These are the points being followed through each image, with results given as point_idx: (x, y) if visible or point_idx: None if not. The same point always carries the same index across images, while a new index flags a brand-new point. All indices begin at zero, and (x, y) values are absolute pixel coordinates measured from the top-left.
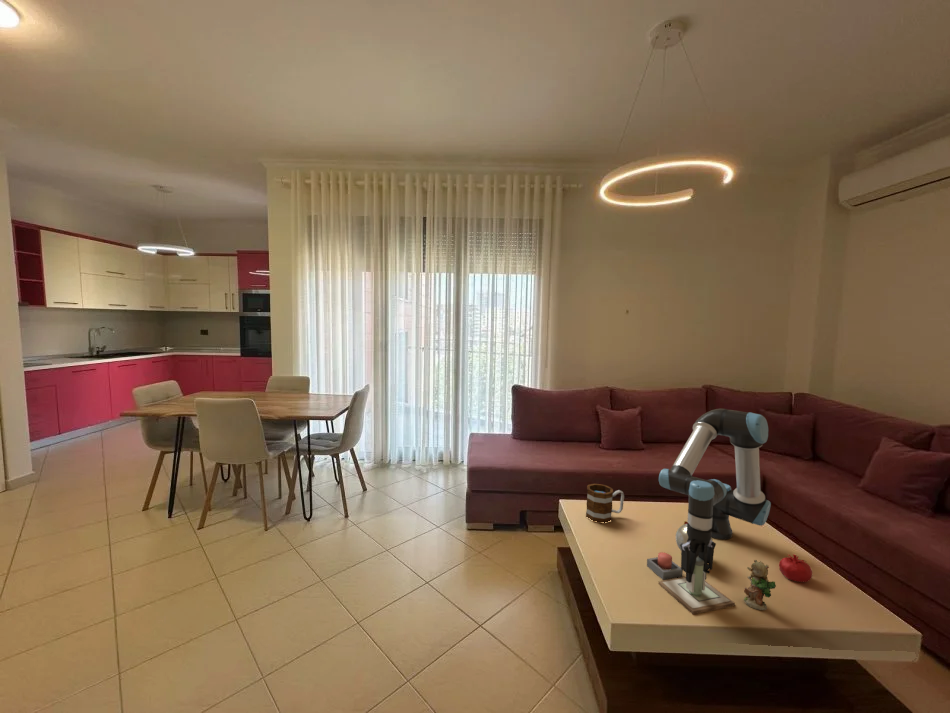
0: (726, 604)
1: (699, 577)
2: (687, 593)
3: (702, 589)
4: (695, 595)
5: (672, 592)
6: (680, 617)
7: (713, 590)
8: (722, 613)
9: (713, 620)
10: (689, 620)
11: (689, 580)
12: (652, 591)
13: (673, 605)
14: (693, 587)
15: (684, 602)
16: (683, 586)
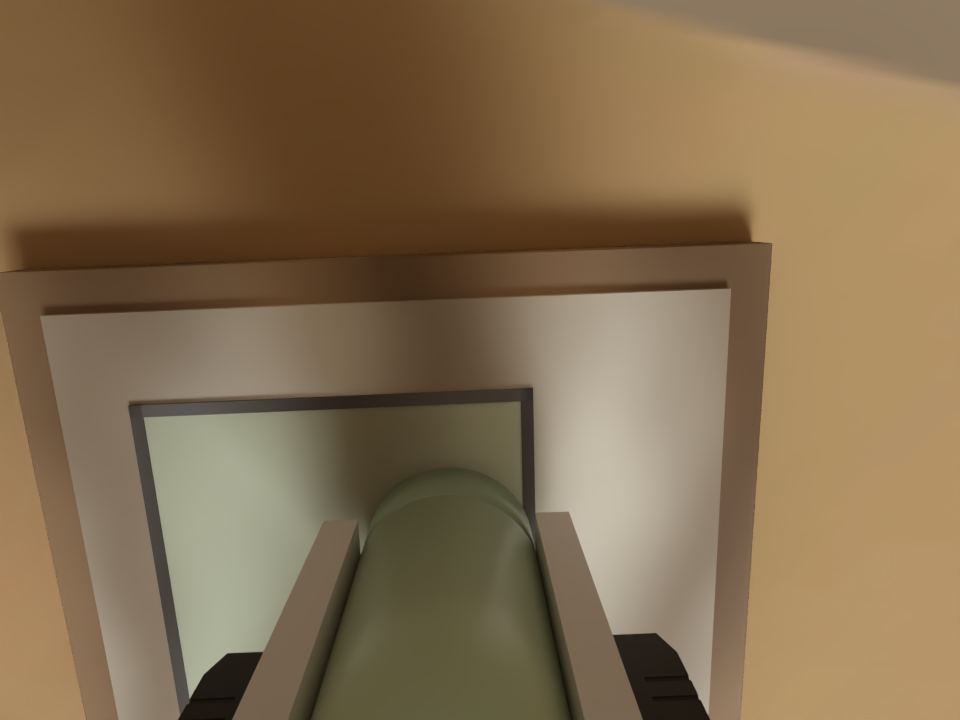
0: (156, 267)
1: (477, 671)
2: None
3: (354, 535)
4: None
5: (730, 605)
6: (955, 226)
7: (127, 541)
8: (327, 174)
9: (568, 83)
10: (889, 153)
11: (665, 664)
12: (898, 675)
13: (855, 428)
14: (561, 555)
15: (736, 416)
16: None
